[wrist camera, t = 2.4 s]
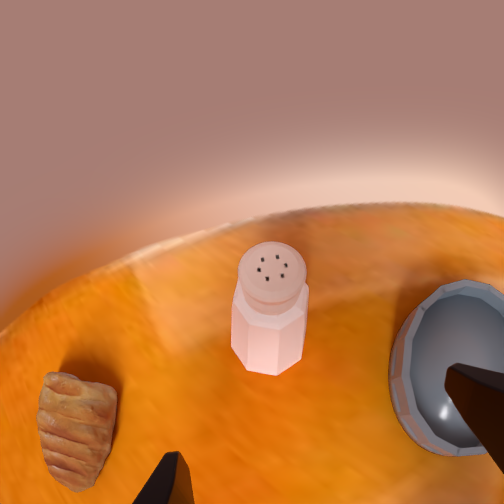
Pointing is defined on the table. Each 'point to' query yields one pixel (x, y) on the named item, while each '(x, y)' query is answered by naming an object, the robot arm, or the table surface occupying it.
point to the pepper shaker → (270, 308)
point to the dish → (444, 362)
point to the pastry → (75, 428)
